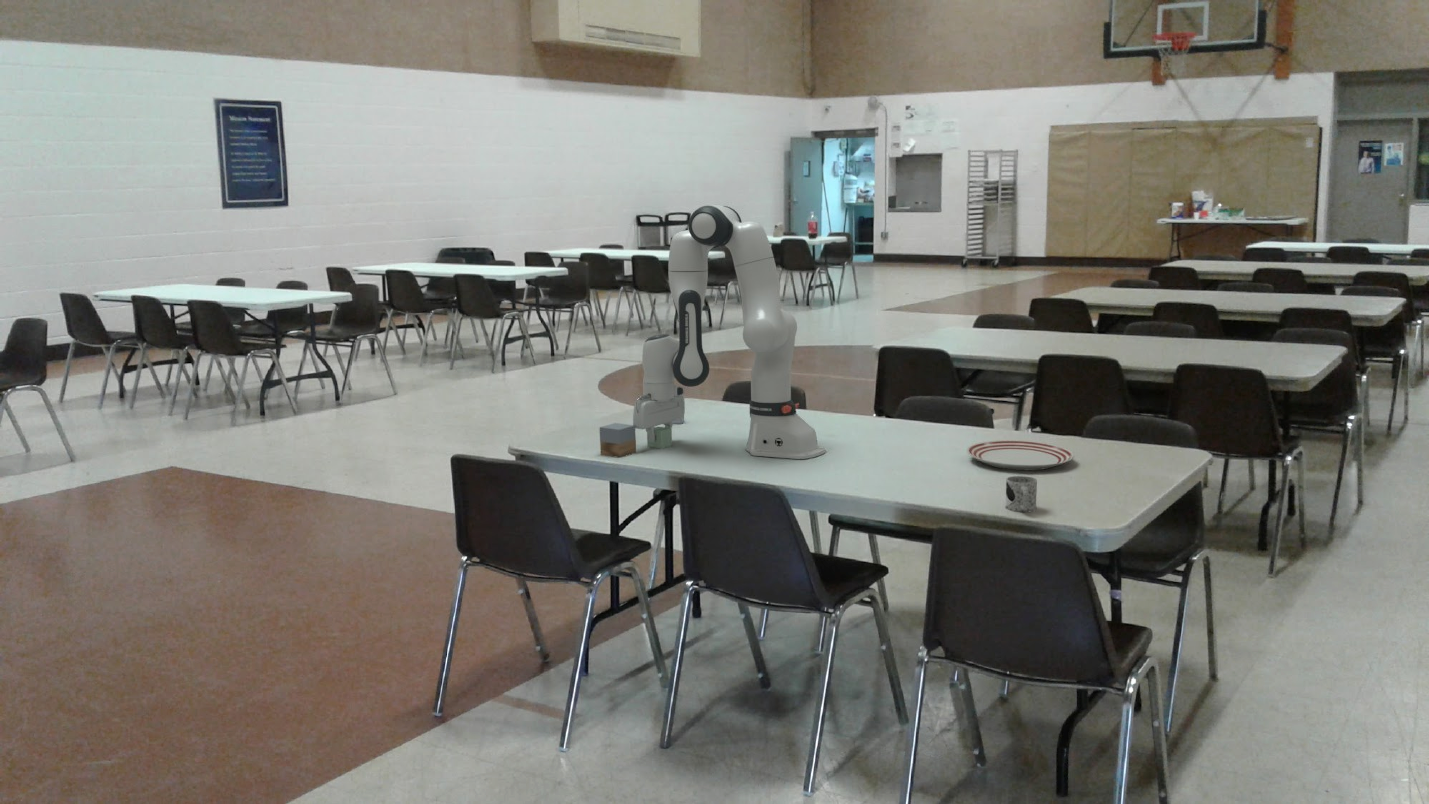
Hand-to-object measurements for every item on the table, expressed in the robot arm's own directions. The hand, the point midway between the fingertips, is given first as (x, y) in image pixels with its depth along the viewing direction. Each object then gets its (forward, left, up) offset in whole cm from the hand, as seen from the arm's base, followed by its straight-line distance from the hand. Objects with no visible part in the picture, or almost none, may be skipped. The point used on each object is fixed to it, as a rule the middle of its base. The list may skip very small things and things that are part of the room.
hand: (659, 439), depth 332 cm
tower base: (+4, +14, -2) cm, 15 cm away
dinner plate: (-94, -33, -2) cm, 100 cm away
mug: (-111, +13, -2) cm, 112 cm away
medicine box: (+18, -30, -2) cm, 35 cm away
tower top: (+4, +14, +2) cm, 15 cm away
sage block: (0, 0, -2) cm, 2 cm away
